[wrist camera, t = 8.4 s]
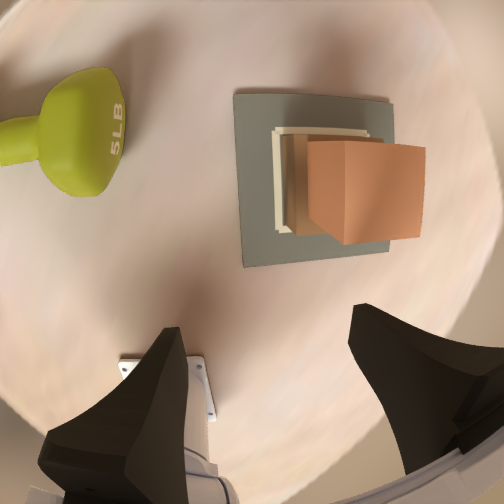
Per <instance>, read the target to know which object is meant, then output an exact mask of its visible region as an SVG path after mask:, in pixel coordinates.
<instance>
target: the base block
mask: <svg viewBox="0 0 504 504" xmlns="http://www.w3.org/2000/svg"><path fill="white" fill-rule="evenodd" d="M311 141H361V142H376V143H384V139H383V138H371V137H357V136H339V135H297V134H294V135H287V136H282V159H283V188H284V224H285V225H286V226H287V227H288V228H289V229H290V230H291V231H292V232H293V233H294V234H295V235H296V236H304V235H316V234H328V232H326V231H325V230H324V229H322V228H321V227H320V226H318V225H317V224H316V223H315V222H313V221H312V220H311V219H309V218H308V165H307V142H311Z"/></svg>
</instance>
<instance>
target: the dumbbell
mask: <svg viewBox="0 0 504 504" xmlns="http://www.w3.org/2000/svg"><path fill="white" fill-rule="evenodd" d="M124 132H125V102H124V98H123V95H122V92H121V89H120V86H119V83H118V80H117V78H116V76H115V74H114V73H113V72H112V71H111V70H110V69H108V68H106V67H96V68H89V69H84V70H81V71H78V72H75V73H73V74H72V75H70V76H68V77H67V78H65V79H64V80H62V81H61V82H59V83H58V84H57V85H56V86H55V87H53V88H52V89H51V90H50V92H49V93H48V95H47V96H46V98H45V100H44V102H43V105H42V108H41V112H40V115H34V116H25V117H18V118H13V119H9V120H5V121H2V122H0V166H6V165H12V164H18V163H24V162H29V161H33V160H37V159H39V163H40V166H41V168H42V170H43V172H44V173H45V175H46V176H47V177H48V178H49V180H50V181H51V182H52V183H53V184H54V185H55V186H56V187H57V188H59V189H60V190H61V191H63V192H65V193H67V194H69V195H71V196H76V197H89V196H97V195H99V194H100V193H102V192H103V191H104V190H105V188H106V187H107V186H108V184H109V182H110V180H111V178H112V176H113V174H114V172H115V170H116V168H117V166H118V164H119V162H120V159H121V155H122V150H123V143H124Z"/></svg>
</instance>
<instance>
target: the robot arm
mask: <svg viewBox="0 0 504 504" xmlns="http://www.w3.org/2000/svg"><path fill="white" fill-rule="evenodd" d="M348 344H349V347H350V349H351V352H352V354H353V356H354V359H355V361H356V363H357V364H358V366H359V368H360V369H361V371H362V372H363V374H364V376H365V377H366V379H367V381H368V382H369V384H370V385H371V387H372V389H373V390H374V392H375V393H376V395H377V397H378V399H379V400H380V402H381V404H382V406H383V408H384V411H385V413H386V415H387V418H388V420H389V422H390V425H391V427H392V430H393V433H394V435H395V438H396V441H397V444H398V447H399V451H400V454H401V457H402V461H403V465H404V469H405V474H406V476H404V477H402V478H400V479H397V480H395V481H393V482H391V483H388V484H386V485H383V486H381V487H378V488H376V489H373V490H370V491H368V492H365V493H362V494H359V495H357V496H353V497H350V498H347V499H344V500H341V501H337V502H334V503H331V504H472V503H473V502H474V501H475V500H476V499H477V498H479V497H480V496H481V495H483V494H484V493H485V492H486V491H488V490H489V489H490V488H491V487H492V486H494V485H495V484H496V483H497V482H498V481H500V480H501V479H502V478H503V477H504V348H498V347H484V346H476V345H469V344H465V343H461V342H456V341H452V340H449V339H445V338H442V337H439V336H437V335H434V334H431V333H428V332H426V331H423V330H421V329H419V328H417V327H414V326H412V325H410V324H408V323H406V322H404V321H402V320H400V319H398V318H396V317H394V316H392V315H390V314H388V313H386V312H384V311H382V310H380V309H378V308H376V307H374V306H372V305H370V304H367V303H364V304H358V305H354V307H353V314H352V320H351V327H350V333H349V339H348ZM197 365H201V366H197ZM118 366H119V369H120V371H121V373H122V376H123V378H124V380H123V381H122V382H121V383H120V384H119V385H118V386H117V387H116V388H115V389H114V390H113V391H112V392H110V393H109V394H108V395H107V396H105V397H104V398H103V399H102V400H100V401H99V402H98V403H97V404H95V405H94V406H93V407H91V408H90V409H88V410H87V411H85V412H84V413H82V414H80V415H79V416H77V417H75V418H74V419H72V420H70V421H68V422H66V423H64V424H62V425H60V426H58V427H56V428H54V429H52V430H49V431H48V433H47V435H46V438H45V441H44V443H43V446H42V449H41V452H40V455H39V458H38V465H39V467H40V468H41V470H42V471H43V472H44V473H45V474H46V475H47V476H48V477H49V478H50V479H51V480H53V481H54V482H55V483H56V484H57V485H58V486H60V487H61V488H62V489H63V490H64V491H65V496H64V498H63V497H61V496H59V495H56V494H54V493H51V492H48V491H45V490H42V489H39V488H36V487H34V486H30V488H29V492H28V495H27V499H26V504H239V498H238V495H237V493H236V491H235V489H234V487H233V486H232V484H231V483H230V481H229V480H228V479H227V478H225V477H222V476H218V466H217V464H212V463H209V445H208V424H207V422H214V421H216V420H217V416H216V412H215V408H214V404H213V399H212V395H211V390H210V386H209V381H208V377H207V372H206V367H205V362H204V359H203V358H202V357H201V356H191V357H186V354H185V350H184V345H183V341H182V337H181V332H180V328H179V327H172V328H164V329H163V330H162V332H161V333H160V335H159V336H158V337H157V339H156V340H155V342H154V343H153V344H152V346H151V347H150V349H149V350H148V351H147V353H146V354H145V355H144V357H143V358H142V359H120V360H119V362H118ZM124 368H126V369H124Z"/></svg>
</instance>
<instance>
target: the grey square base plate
mask: <svg viewBox="0 0 504 504" xmlns="http://www.w3.org/2000/svg"><path fill="white" fill-rule="evenodd" d="M233 108H234V127H235V144H236V162H237V178H238V195H239V211H240V226H241V241H242V256H243V266H244V268H246V267H256V266H265V265H275V264H285V263H294V262H303V261H313V260H322V259H331V258H340V257H348V256H357V255H366V254H374V253H383V252H389V246H390V240H387V241H377V242H367V243H357V244H347V245H343V244H342V243H340V242H339V241H338V240H337V239H335V238H334V237H333V236H331V235H330V234H329V233H328V234H316V235H304V236H296V235H295V234H294V233H293V232H292V231H291V230H290V229H289V228H288V227H287V226H286V225H285V224H284V188H283V159H282V136H287V135H294V134H297V135H339V136H357V137H371V138H383V139H384V143H389V144H394V114H393V104H390V103H384V102H378V101H371V100H364V99H355V98H347V97H336V96H324V95H309V94H278V93H260V94H233Z"/></svg>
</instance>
